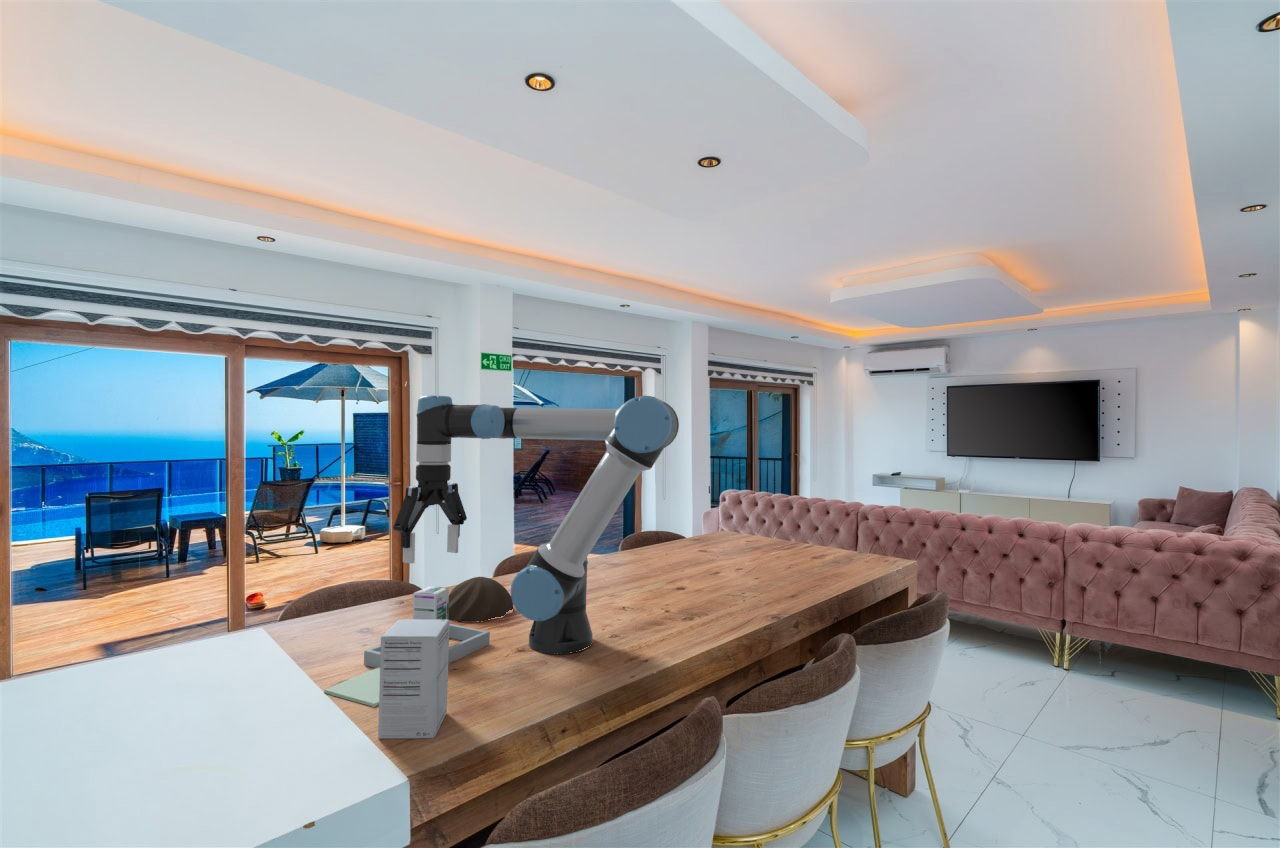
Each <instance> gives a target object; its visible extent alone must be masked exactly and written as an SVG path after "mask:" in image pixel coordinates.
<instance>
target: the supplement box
mask: <svg viewBox="0 0 1280 848" xmlns="http://www.w3.org/2000/svg"><path fill="white" fill-rule="evenodd" d="M450 620H451V619H448V620H422V619H413V618H412V619H409V618H406V619H397V621H396V622H395V623H394V624H392V626H391V627H390V628H389V629H388V630H386V632H385V633H384V634H383V635H382V636H380V645H381V656H380V691H379V705H378V724H377V725H378V728H377V729H378V730H377V731H378V732H377V733H378V734H377V739H378V740H380V739H381V740H385V739H387V740H389V739H390V740H392V739H393V740H394V739H396V740H397V739H402V740H403V739H434V738H435V737H436V736H437V733H438V732H439V730H440V727H441V725H442V723H443V721H444V720H445V717H446V715H447V713H448V712H447V711H448V687H449V685H448V683H449V681H448V680H449V663H448V654H449V647H450V646H449V645H450V638H449V624H451V623H450Z"/></svg>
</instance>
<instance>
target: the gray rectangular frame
mask: <svg viewBox="0 0 1280 848" xmlns="http://www.w3.org/2000/svg"><path fill="white" fill-rule="evenodd" d="M490 633H491V632H490V631H489V630H484V629H479V628H478V629H477V628H473V627H468V626H463V625H459V624H458V625H457V624H452V623H450V624H449V639H452V640H458V641H460V642H458V643H455V644H453V645H451V646H449V654H448V664H450V663H452V662H454V661H457V660H459V659H461V658H464V657H465V656H467V655H469V654H472V653H474V652H476V651H477V650H480V649H482V648H484V647H486V646H489V645H490V641H491V640H490V636H491V635H490ZM363 651H364V652H363V665H364V666H367V667H371V668H374V669H376V668H378V667H380V656H381V644H379V645H376V646H374V647H371V648H368V649H365V650H363Z"/></svg>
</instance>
